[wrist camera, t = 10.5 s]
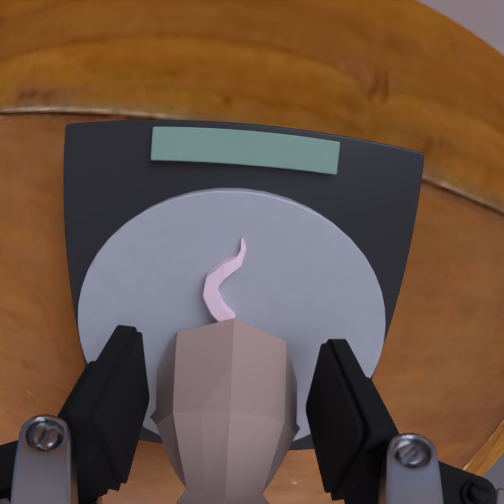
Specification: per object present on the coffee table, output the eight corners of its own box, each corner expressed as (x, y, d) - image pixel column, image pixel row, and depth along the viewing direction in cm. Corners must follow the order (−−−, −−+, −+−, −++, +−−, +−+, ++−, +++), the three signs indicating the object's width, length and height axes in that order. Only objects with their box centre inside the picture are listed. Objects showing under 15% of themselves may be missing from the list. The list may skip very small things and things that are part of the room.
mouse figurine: (323, 244, 10) (434, 381, 4) (282, 421, 12) (304, 557, 6) (159, 227, 10) (47, 354, 3) (162, 411, 12) (133, 548, 6)
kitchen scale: (93, 127, 12) (53, 122, 8) (395, 151, 12) (437, 154, 9) (116, 403, 16) (100, 443, 13) (334, 416, 17) (347, 457, 14)
